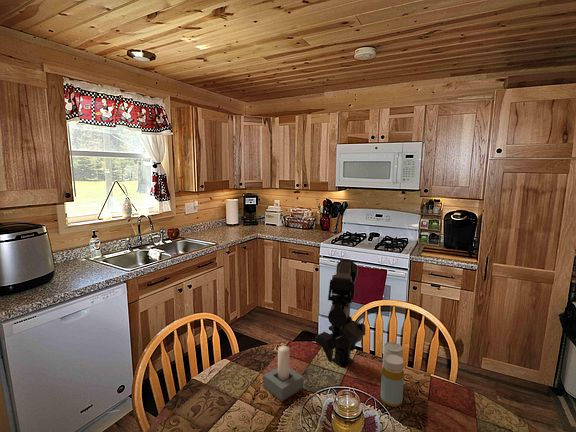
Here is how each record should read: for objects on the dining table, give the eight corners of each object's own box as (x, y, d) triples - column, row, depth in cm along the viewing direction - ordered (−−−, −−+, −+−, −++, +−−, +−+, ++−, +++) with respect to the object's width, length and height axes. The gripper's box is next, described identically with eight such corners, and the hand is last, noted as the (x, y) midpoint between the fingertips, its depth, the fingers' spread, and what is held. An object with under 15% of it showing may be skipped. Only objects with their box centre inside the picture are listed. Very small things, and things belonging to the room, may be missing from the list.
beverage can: (404, 388, 114) (407, 348, 112) (391, 394, 110) (394, 353, 109) (390, 377, 119) (392, 340, 117) (377, 383, 116) (379, 344, 114)
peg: (286, 381, 115) (287, 345, 113) (290, 388, 111) (291, 351, 110) (276, 383, 114) (276, 346, 112) (279, 390, 110) (280, 353, 108)
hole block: (283, 375, 120) (284, 363, 119) (302, 388, 112) (303, 376, 112) (263, 386, 113) (263, 374, 112) (281, 401, 106) (282, 389, 105)
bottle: (403, 409, 103) (406, 366, 101) (381, 406, 105) (383, 363, 103) (400, 395, 110) (403, 354, 108) (379, 392, 111) (381, 352, 109)
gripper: (342, 330, 96) (340, 379, 98) (376, 313, 108) (374, 356, 110) (315, 318, 104) (313, 363, 106) (349, 303, 116) (347, 343, 118)
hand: (338, 356), depth 110 cm, fingers open, 9 cm apart
